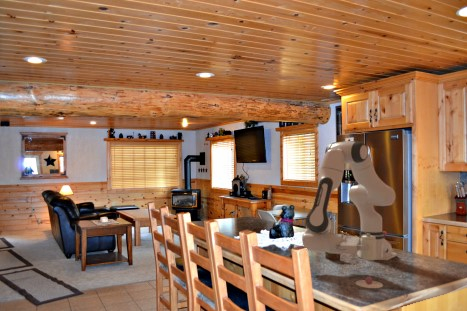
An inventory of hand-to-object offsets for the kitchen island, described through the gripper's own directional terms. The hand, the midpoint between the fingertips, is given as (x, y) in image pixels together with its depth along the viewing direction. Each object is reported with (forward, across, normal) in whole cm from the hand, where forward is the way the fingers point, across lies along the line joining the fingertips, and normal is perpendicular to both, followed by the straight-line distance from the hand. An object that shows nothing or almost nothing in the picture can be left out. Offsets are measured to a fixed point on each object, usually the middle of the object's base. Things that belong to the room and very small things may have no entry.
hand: (369, 246), depth 182 cm
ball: (0, -13, +13) cm, 18 cm away
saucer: (0, -13, +14) cm, 19 cm away
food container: (-22, +29, +15) cm, 39 cm away
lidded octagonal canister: (0, 0, +6) cm, 6 cm away
